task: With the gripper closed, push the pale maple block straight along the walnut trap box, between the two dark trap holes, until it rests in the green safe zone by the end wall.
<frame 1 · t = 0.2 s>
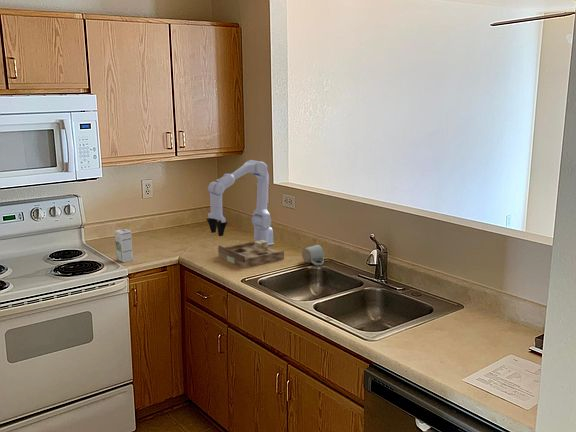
hand: (217, 234, 279), 10 cm above the worktop, tool pointing down, fingers open, 7 cm apart
ceramic mug: (314, 263, 268), on the worktop
trap box: (251, 257, 275), on the worktop
maple block: (261, 250, 278), point 2 cm above the worktop, touching trap box
syrup box: (124, 260, 271), on the worktop
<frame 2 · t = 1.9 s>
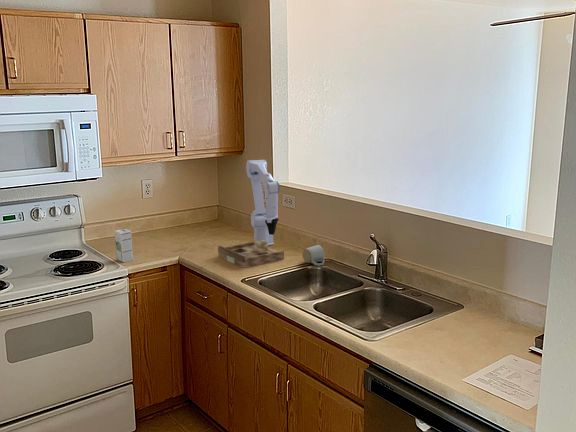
hand: (271, 233, 280), 10 cm above the worktop, tool pointing down, fingers closed
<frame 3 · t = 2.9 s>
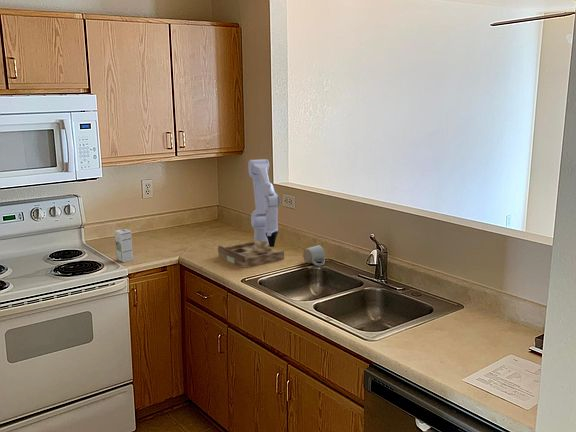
hand: (271, 246, 282), 3 cm above the worktop, tool pointing down, fingers closed
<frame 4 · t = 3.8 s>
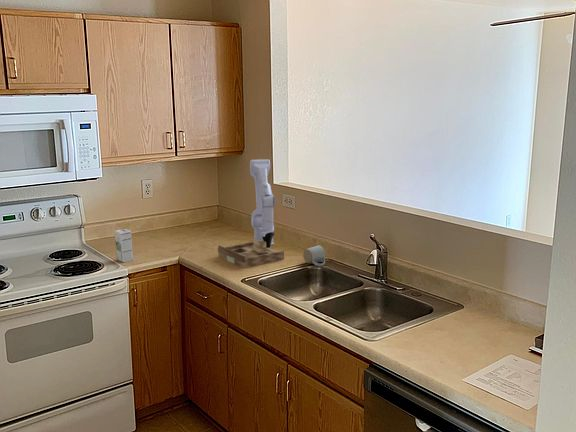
hand: (267, 247, 280), 3 cm above the worktop, tool pointing down, fingers closed
maple block: (259, 250, 278), point 3 cm above the worktop, touching gripper, trap box
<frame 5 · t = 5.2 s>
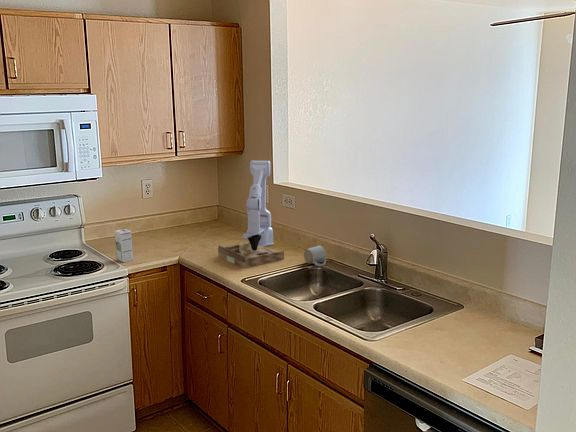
hand: (254, 250, 275), 3 cm above the worktop, tool pointing down, fingers closed
maple block: (245, 252, 274), point 2 cm above the worktop, touching gripper, trap box
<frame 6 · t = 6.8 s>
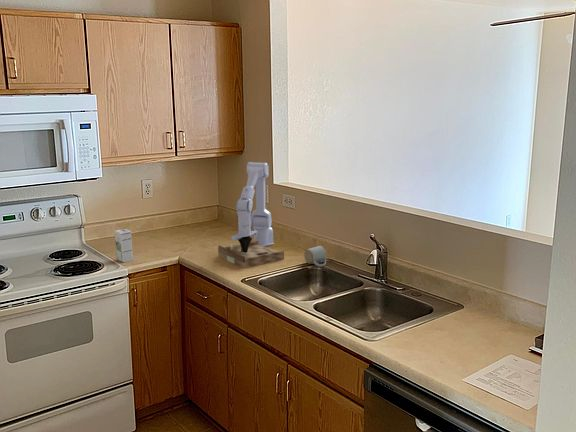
hand: (244, 252, 272), 3 cm above the worktop, tool pointing down, fingers closed
maple block: (235, 254, 272), point 2 cm above the worktop, touching gripper, trap box
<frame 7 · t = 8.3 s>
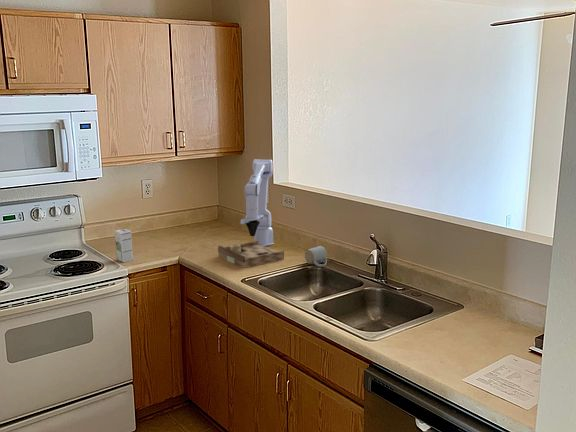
hand: (252, 235, 277), 10 cm above the worktop, tool pointing down, fingers closed
maple block: (235, 254, 272), point 2 cm above the worktop, touching trap box
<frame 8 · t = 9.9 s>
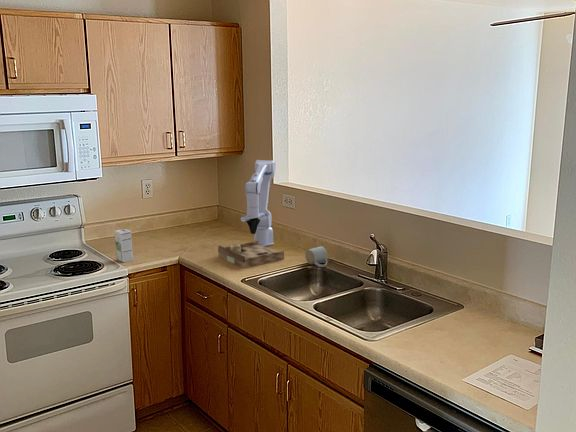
hand: (253, 233, 281), 10 cm above the worktop, tool pointing down, fingers closed
at the end: maple block 2.3 cm from the target spot on the trap box, point 2.5 cm above the trap box's base; maple block tilted 0° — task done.
